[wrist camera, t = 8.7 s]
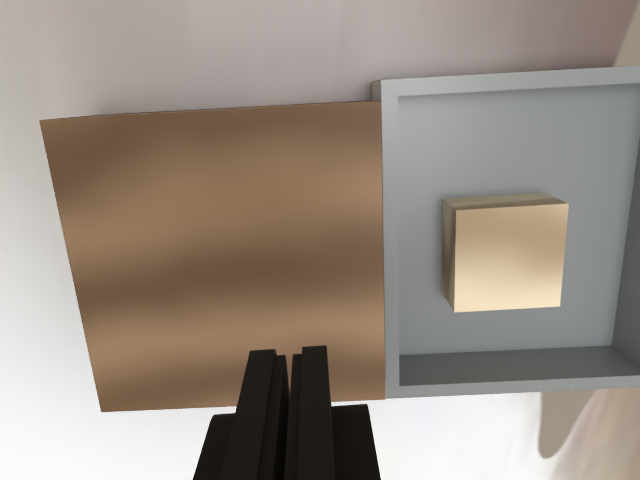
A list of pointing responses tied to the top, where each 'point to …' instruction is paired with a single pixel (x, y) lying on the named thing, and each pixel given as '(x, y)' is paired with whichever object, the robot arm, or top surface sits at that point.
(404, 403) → the top surface
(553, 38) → the top surface
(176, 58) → the top surface
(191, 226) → the walnut riser
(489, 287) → the birch tile
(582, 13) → the top surface
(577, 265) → the bin
